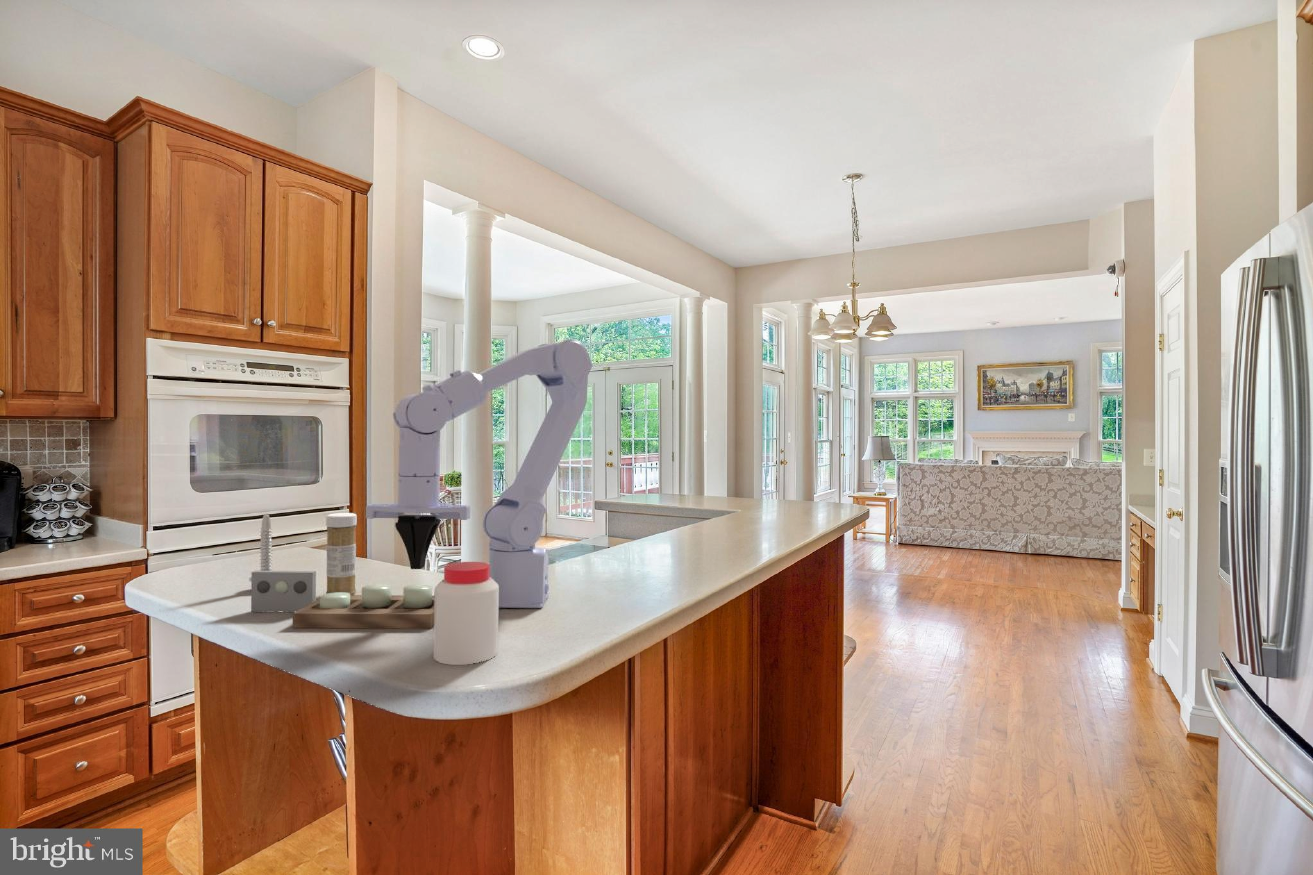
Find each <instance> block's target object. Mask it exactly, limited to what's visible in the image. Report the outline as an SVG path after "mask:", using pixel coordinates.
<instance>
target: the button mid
mask: <svg viewBox="0 0 1313 875" xmlns="http://www.w3.org/2000/svg"><path fill="white" fill-rule="evenodd" d="M361 595H362V607H366V608H378V607H384V606H388V605H390V604H391V595H392V585H391V584H388V583H375V584H369V585H364V586H362V587H361Z"/></svg>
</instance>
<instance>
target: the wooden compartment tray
mask: <svg viewBox="0 0 1313 875" xmlns="http://www.w3.org/2000/svg"><path fill="white" fill-rule="evenodd" d="M432 628H434V595H432V605H430V606H427V607H422V608H406V607H404V606H403V595H395V594H393V595H392V594H391V604H390V605H388V606H384V607H378V608H366V607H362V594H353V595H350V606H348V607H347V608H345V609H320V598H319V599H317V600H316V601H315V602H313V603H311V604H309V605H307V606H306V607H304V608H302V609H300V610H298V611H296V612H292V629H427V630H428V629H429V630H430V629H432Z"/></svg>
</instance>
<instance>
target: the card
mask: <svg viewBox="0 0 1313 875" xmlns="http://www.w3.org/2000/svg"><path fill="white" fill-rule="evenodd" d="M251 576H252V580H251V582H250V583H251V589H250V590H251V591H250V592H251V595H250V598H251V599H250V600H251V601H250V602H251V603H250V605H251V606H250V608H251V613H268V612H267V611H298V610H300V609H302V608H304V607H306V606H307V605H309V604H311V603H313V602H315V601H317V600H316V599H317V589H316V588H317V571H316V570H272V571H260V570H253V571H251ZM263 611H264V612H263Z"/></svg>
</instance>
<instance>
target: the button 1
mask: <svg viewBox="0 0 1313 875" xmlns="http://www.w3.org/2000/svg"><path fill="white" fill-rule="evenodd" d="M319 599H320V609H345V608H347V607H348V606H350V594H349V593H345V592H336V593H328V594H326V593H325V594H322V595H320V597H319Z"/></svg>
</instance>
